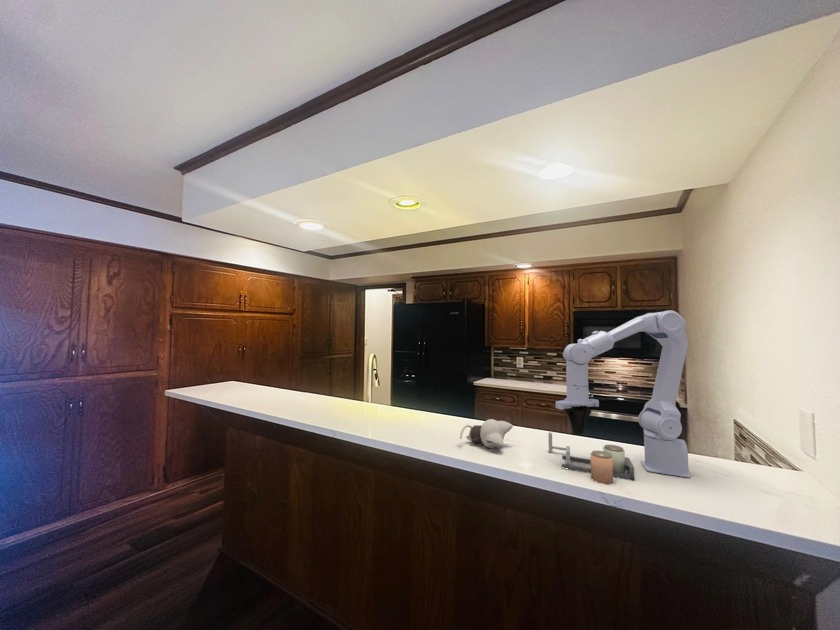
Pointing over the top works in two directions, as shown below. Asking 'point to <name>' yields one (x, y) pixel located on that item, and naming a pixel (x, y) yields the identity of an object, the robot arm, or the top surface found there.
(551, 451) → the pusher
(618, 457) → the jar
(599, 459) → the jar
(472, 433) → the toy
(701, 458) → the top surface
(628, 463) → the lane
